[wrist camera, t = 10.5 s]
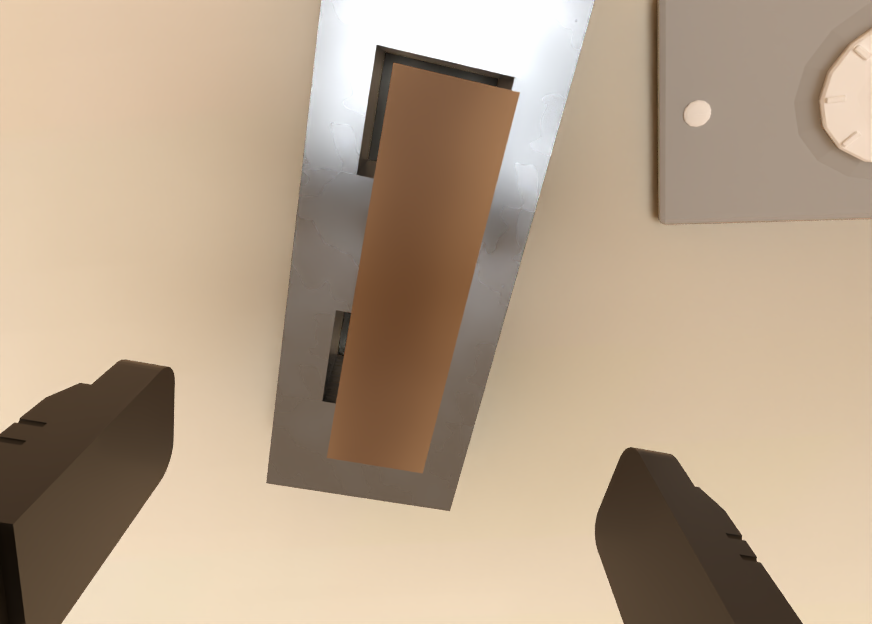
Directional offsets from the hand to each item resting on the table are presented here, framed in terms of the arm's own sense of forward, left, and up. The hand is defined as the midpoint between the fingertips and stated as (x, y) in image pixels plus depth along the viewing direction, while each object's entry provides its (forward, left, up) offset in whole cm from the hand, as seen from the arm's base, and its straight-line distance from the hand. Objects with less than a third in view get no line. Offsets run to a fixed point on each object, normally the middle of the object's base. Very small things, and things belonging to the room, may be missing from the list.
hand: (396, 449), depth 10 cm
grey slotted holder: (0, 0, -15) cm, 15 cm away
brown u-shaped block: (0, 0, -15) cm, 15 cm away
